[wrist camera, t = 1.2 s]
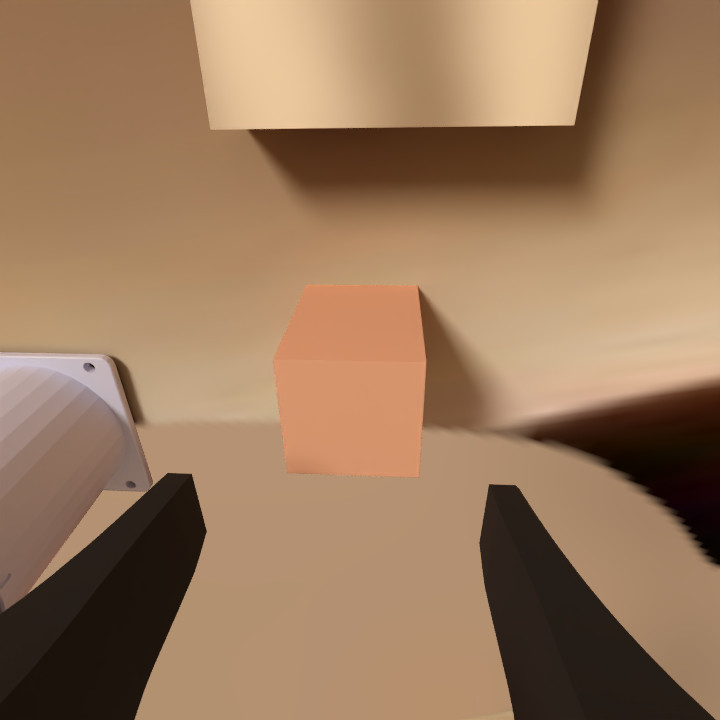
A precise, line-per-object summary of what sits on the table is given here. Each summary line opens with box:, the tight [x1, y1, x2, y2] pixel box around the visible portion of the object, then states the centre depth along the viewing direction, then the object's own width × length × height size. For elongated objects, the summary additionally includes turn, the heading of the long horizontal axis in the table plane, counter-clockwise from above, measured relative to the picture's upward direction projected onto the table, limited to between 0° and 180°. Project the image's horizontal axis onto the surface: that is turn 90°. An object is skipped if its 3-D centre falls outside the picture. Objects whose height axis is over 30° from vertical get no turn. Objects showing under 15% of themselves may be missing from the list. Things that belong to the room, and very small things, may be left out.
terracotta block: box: [273, 285, 426, 478], centre depth 17 cm, size 4×4×6 cm
